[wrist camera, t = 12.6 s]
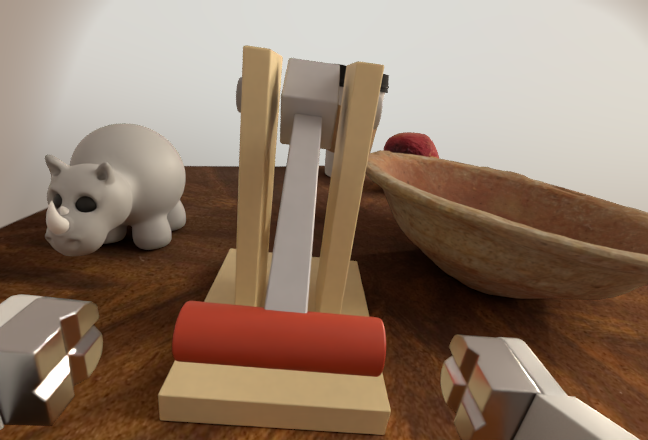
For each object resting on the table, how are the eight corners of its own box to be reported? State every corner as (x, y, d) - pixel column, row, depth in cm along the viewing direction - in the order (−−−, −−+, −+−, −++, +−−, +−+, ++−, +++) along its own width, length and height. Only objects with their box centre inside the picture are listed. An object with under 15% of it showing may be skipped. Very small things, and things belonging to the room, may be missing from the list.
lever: (369, 386, 9) (394, 363, 8) (183, 372, 9) (160, 344, 7) (361, 115, 17) (372, 68, 15) (257, 101, 16) (255, 52, 14)
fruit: (435, 192, 50) (450, 136, 47) (425, 205, 43) (442, 141, 40) (384, 179, 53) (395, 126, 50) (368, 190, 46) (379, 130, 43)
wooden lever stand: (384, 435, 14) (488, 71, 9) (159, 421, 13) (127, 18, 8) (354, 277, 25) (392, 74, 20) (229, 265, 24) (235, 52, 19)
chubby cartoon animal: (-8, 294, 19) (-53, 137, 16) (116, 213, 30) (104, 112, 27) (126, 308, 19) (109, 157, 16) (199, 223, 30) (198, 124, 27)
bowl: (779, 382, 20) (879, 265, 17) (407, 402, 16) (455, 247, 13) (515, 222, 42) (539, 157, 39) (324, 210, 37) (334, 135, 34)
